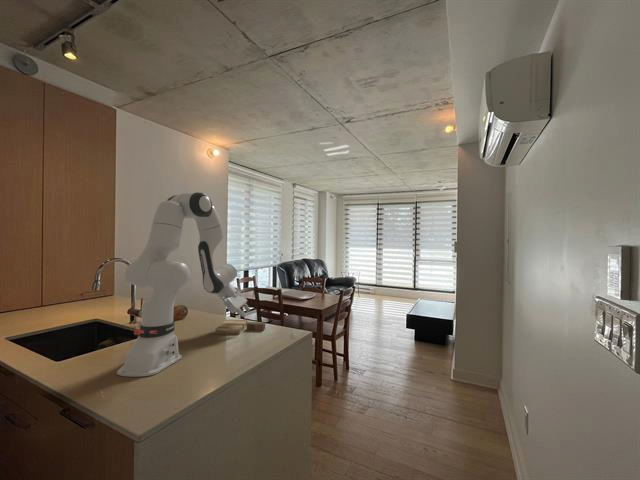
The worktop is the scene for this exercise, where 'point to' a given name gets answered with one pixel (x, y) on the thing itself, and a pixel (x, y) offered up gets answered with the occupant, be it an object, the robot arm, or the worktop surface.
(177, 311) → the brown flat oval piece
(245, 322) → the board
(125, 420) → the worktop surface
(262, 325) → the block
